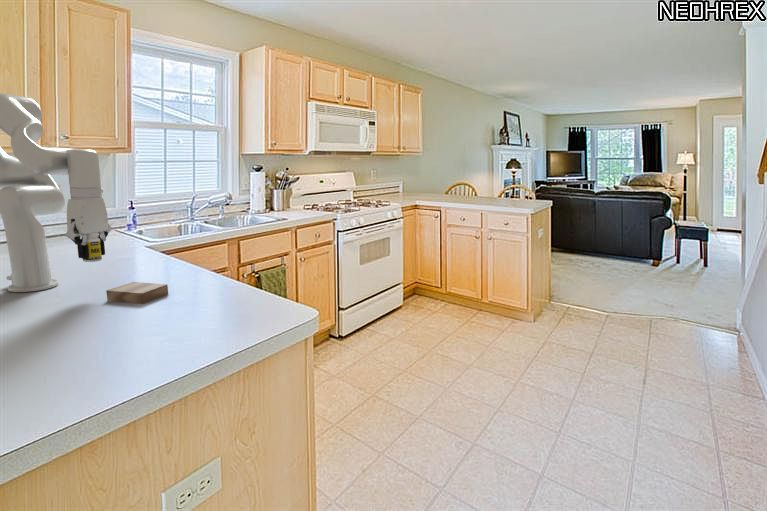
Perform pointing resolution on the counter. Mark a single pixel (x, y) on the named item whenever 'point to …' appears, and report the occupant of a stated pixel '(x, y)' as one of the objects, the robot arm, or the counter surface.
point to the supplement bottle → (93, 248)
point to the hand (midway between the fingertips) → (92, 255)
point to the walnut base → (137, 292)
